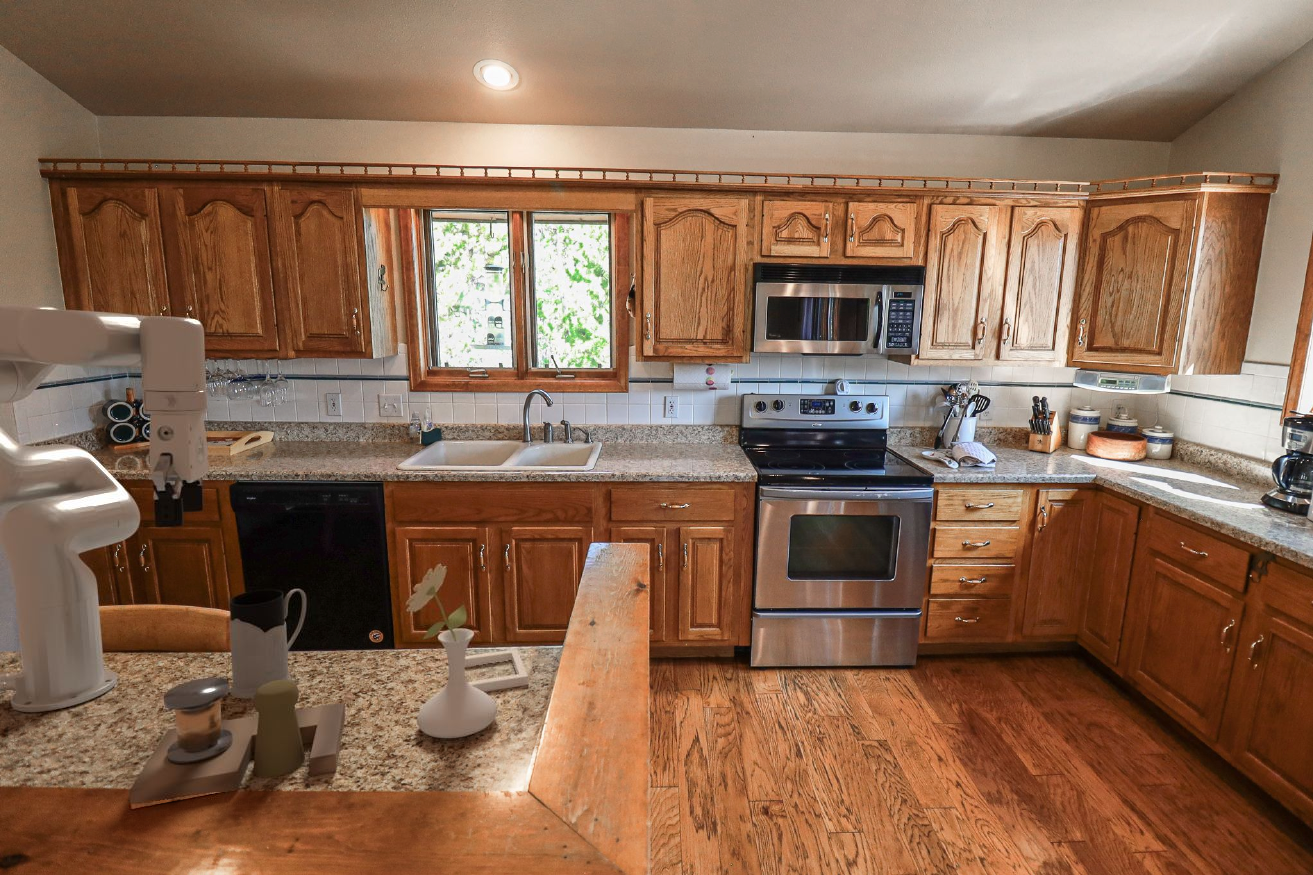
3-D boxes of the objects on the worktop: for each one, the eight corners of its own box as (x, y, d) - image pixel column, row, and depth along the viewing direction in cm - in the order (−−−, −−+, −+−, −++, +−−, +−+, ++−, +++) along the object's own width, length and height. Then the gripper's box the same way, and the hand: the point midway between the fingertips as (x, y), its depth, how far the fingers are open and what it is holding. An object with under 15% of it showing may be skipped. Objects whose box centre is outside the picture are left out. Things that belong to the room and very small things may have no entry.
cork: (283, 780, 84) (278, 698, 83) (241, 774, 85) (237, 693, 84) (315, 753, 90) (312, 676, 89) (276, 748, 91) (272, 671, 90)
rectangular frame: (458, 695, 106) (457, 686, 106) (453, 666, 117) (452, 658, 117) (528, 684, 110) (528, 676, 110) (517, 656, 121) (517, 649, 121)
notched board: (130, 809, 78) (129, 790, 78) (169, 746, 91) (168, 729, 91) (336, 771, 86) (335, 753, 86) (344, 718, 99) (344, 702, 99)
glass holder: (216, 693, 106) (211, 603, 104) (287, 657, 120) (283, 576, 118) (260, 701, 104) (255, 609, 102) (328, 663, 117) (324, 581, 116)
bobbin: (159, 769, 82) (155, 707, 81) (177, 739, 89) (173, 682, 88) (225, 758, 85) (221, 698, 84) (238, 730, 91) (234, 674, 90)
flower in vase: (464, 698, 106) (461, 545, 103) (513, 720, 99) (511, 558, 97) (390, 734, 95) (384, 564, 92) (440, 762, 89) (435, 580, 86)
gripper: (187, 407, 89) (193, 531, 91) (221, 399, 106) (225, 505, 107) (119, 407, 87) (126, 534, 89) (165, 399, 103) (170, 507, 105)
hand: (180, 518), depth 98 cm, fingers open, 9 cm apart
